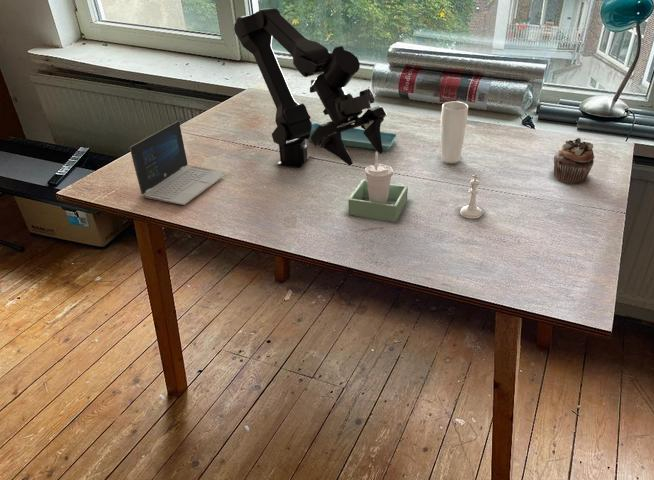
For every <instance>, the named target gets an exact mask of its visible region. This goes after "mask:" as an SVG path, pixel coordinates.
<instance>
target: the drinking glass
mask: <svg viewBox="0 0 654 480" xmlns="http://www.w3.org/2000/svg"><path fill="white" fill-rule="evenodd" d="M468 117H469V105H468V104H467V103H466V102H463V101H457V100H455V101H454V100H453V101H452V100H451V101H446V102H444V103H443V104H442V105H441V112H440V160H441V161H442V162H443V163H446V164H456V163H459V162H460V160H461V157H462V150H463V145H464V139H465V136H466V129H467V124H468Z"/></svg>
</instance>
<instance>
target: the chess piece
mask: <svg viewBox="0 0 654 480" xmlns="http://www.w3.org/2000/svg"><path fill="white" fill-rule="evenodd" d="M471 178H472V179H471V180H470V181H469V182H470V183H469V184H470V187H471V188H470V189H468V193H469V194H470V197H469V201H468V204H467V205H464V206H462V207H461V208H460V210H459V211H460V212H459V214H460V215H461V216H462V217H464V218H467V219H478V218H480V217H482V215H483V210H482V209H481V207H479V206H477V202H476V201H477V200H476V197H477V194H479V189H478V187H479V185H480V180H479V179H480V175H479V176H478V172H474V174H472V175H471Z"/></svg>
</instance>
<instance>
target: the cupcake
mask: <svg viewBox="0 0 654 480" xmlns="http://www.w3.org/2000/svg"><path fill="white" fill-rule="evenodd" d="M593 149H594V144H593V143H591V142H590V141H589V142H588V141H581V138H580V137H578V138H576V139H573V140H571V139H569V140H566V141H565V143H562V144H561V147H560V148H558V151H557V152H556V154H554V156H553V177H554V178H555V180H556V181H560V182H562V183H564V184H565V183H566V184H569V185H577V184H578V185H579V184H582V183H584V182H586V180H587V178H588V176H589V174H590V171H591V170H592V167H593V166H594V160H595V153H594V150H593Z"/></svg>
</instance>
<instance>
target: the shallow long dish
mask: <svg viewBox="0 0 654 480" xmlns="http://www.w3.org/2000/svg"><path fill="white" fill-rule="evenodd" d="M321 124H322V123H321V122H312V129H311V134H312V133H313V132H314V131H315V129H316V128H317V127H318V126H319V125H321ZM364 131H365V129H363V128H357V127H356V128H353V129H350V130H347V131H344V132H341V139H342V142H343V144H344V146H347V147H354V148H360V149H361V148H363V149H369V150H376V149H375V148H374V147H373V145H372V144H371V142H370V141H369V140H368V138H367V137H366V136H365V134H364V133H363V132H364ZM311 134H310V138H309V139H306V140H307V141H311ZM380 135H381V141H382V147H383V152H387V151H389V149H390V148H391V146H392V145H393V144H394V143H395V141H396V140H397V138H398V136H399V135H398V134H397V133H392V132H385V131H380Z"/></svg>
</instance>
